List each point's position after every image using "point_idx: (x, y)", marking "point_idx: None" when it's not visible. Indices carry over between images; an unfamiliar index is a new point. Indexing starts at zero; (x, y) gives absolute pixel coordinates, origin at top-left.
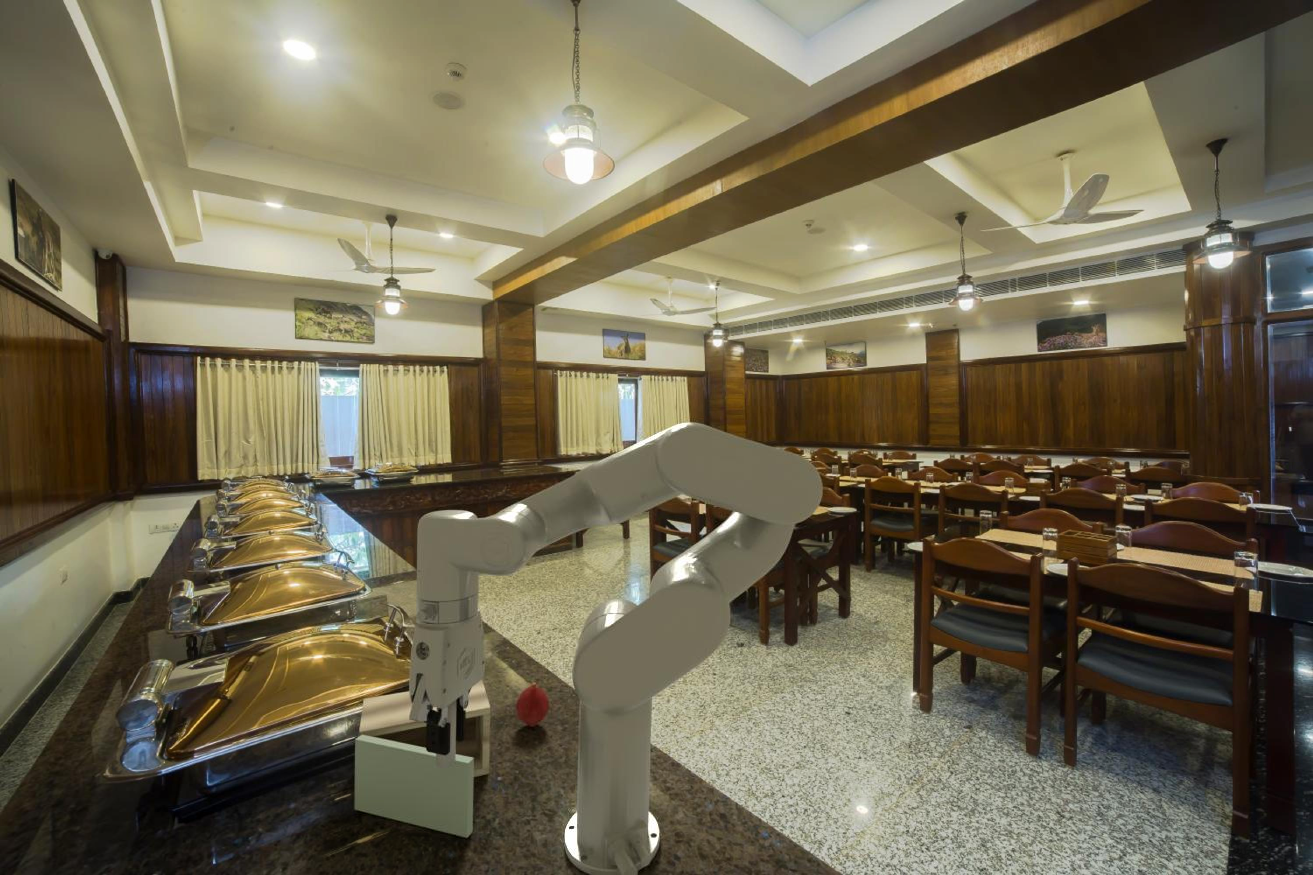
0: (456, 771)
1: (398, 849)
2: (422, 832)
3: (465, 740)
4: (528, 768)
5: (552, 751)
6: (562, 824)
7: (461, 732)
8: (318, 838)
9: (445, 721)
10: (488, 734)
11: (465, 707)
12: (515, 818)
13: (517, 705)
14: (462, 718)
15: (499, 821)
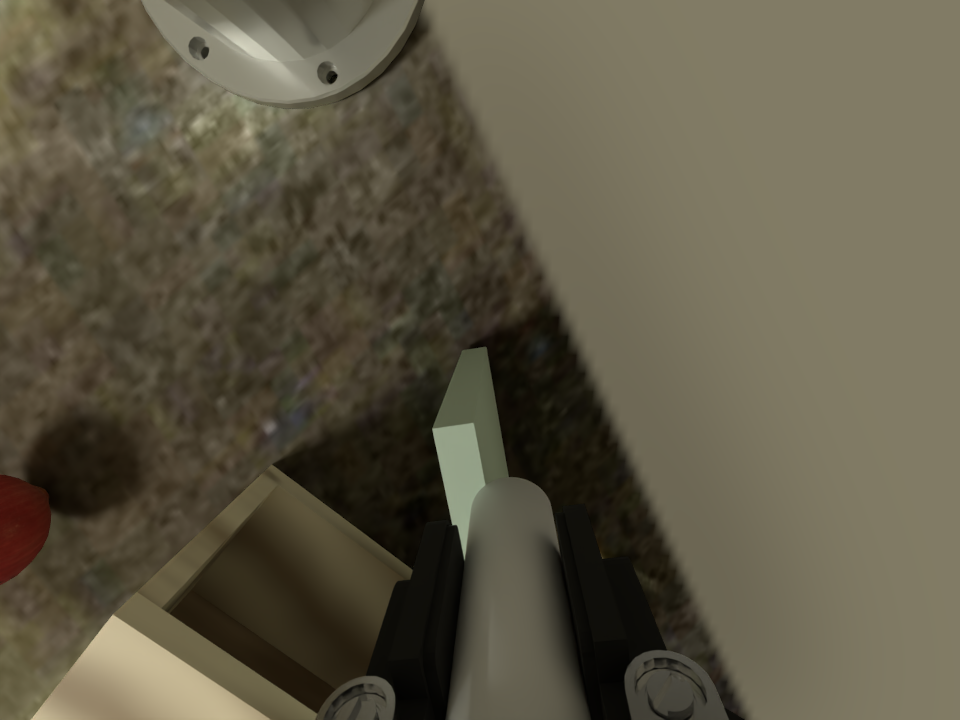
0: (486, 456)
1: (581, 468)
2: (516, 459)
3: (217, 603)
4: (192, 382)
5: (92, 367)
6: (314, 140)
7: (450, 552)
8: None
9: (632, 682)
10: (202, 536)
11: (366, 685)
12: (365, 282)
13: (6, 573)
14: (430, 619)
15: (396, 314)
